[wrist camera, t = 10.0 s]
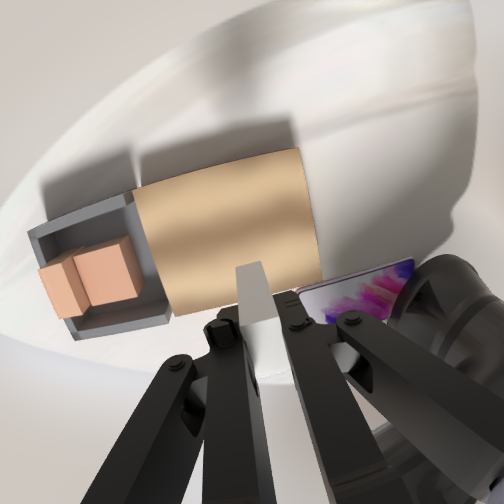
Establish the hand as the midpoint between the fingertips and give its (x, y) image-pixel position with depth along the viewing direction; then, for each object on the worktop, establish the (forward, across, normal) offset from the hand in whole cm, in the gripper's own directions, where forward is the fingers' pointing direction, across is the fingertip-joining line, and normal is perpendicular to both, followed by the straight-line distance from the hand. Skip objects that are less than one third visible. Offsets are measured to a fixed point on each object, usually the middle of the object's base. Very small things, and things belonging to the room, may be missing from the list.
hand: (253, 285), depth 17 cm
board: (+11, +1, -1) cm, 11 cm away
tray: (+11, +14, -1) cm, 18 cm away
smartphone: (+12, -11, +10) cm, 19 cm away
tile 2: (+10, +13, -1) cm, 16 cm away
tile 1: (+7, +15, -1) cm, 17 cm away
